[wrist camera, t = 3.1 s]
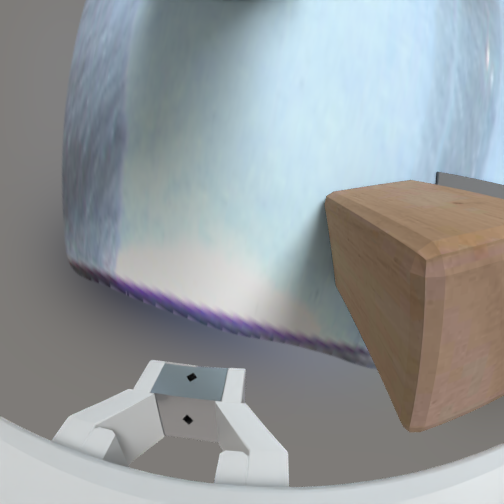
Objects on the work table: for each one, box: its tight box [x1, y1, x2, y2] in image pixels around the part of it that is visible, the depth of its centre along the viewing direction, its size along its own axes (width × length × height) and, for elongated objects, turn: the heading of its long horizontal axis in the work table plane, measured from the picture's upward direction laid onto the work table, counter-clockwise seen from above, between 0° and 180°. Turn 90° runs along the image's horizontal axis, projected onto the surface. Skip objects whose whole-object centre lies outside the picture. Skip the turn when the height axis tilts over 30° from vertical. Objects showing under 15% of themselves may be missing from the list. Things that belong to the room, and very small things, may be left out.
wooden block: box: [325, 180, 504, 432], centre depth 19 cm, size 10×10×20 cm
